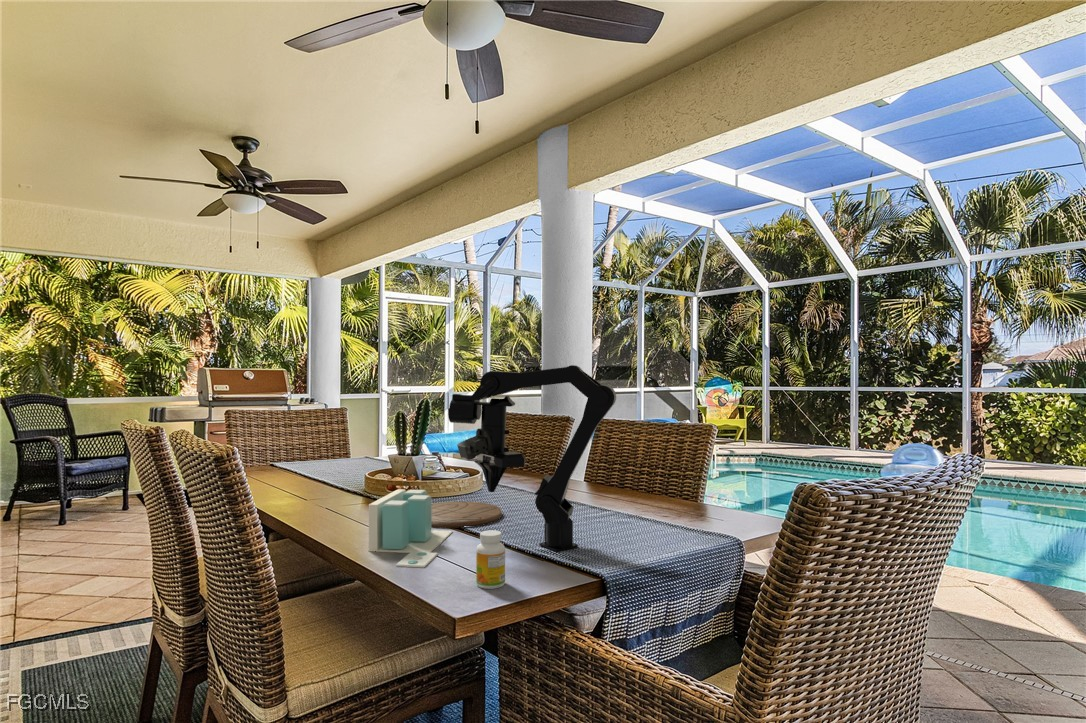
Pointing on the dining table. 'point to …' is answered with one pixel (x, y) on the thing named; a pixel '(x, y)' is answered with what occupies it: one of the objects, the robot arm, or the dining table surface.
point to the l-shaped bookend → (377, 529)
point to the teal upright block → (419, 518)
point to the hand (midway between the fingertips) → (491, 491)
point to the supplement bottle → (490, 560)
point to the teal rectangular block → (413, 493)
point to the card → (417, 559)
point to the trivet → (463, 514)
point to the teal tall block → (395, 524)
